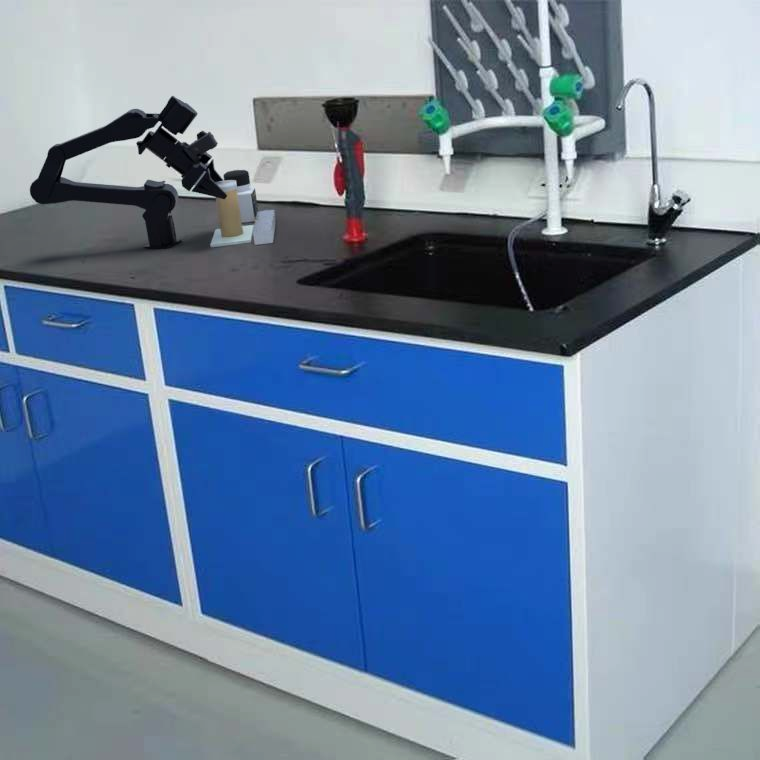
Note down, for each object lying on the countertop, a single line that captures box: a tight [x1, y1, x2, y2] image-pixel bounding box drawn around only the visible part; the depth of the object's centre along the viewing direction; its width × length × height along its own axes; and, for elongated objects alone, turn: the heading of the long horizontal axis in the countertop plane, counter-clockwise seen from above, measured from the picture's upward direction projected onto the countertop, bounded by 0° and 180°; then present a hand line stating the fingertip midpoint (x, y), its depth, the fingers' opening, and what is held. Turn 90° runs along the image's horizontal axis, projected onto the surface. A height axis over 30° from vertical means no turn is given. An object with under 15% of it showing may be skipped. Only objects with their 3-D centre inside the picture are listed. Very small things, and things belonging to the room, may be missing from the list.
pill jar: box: [215, 180, 243, 237], centre depth 287 cm, size 5×5×12 cm
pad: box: [209, 224, 254, 248], centre depth 289 cm, size 9×16×1 cm, turn 3°
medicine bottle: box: [223, 169, 259, 224], centre depth 304 cm, size 7×7×12 cm
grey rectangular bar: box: [252, 208, 277, 246], centre depth 290 cm, size 25×4×3 cm, turn 3°
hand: (227, 193), depth 286 cm, fingers open, 9 cm apart
